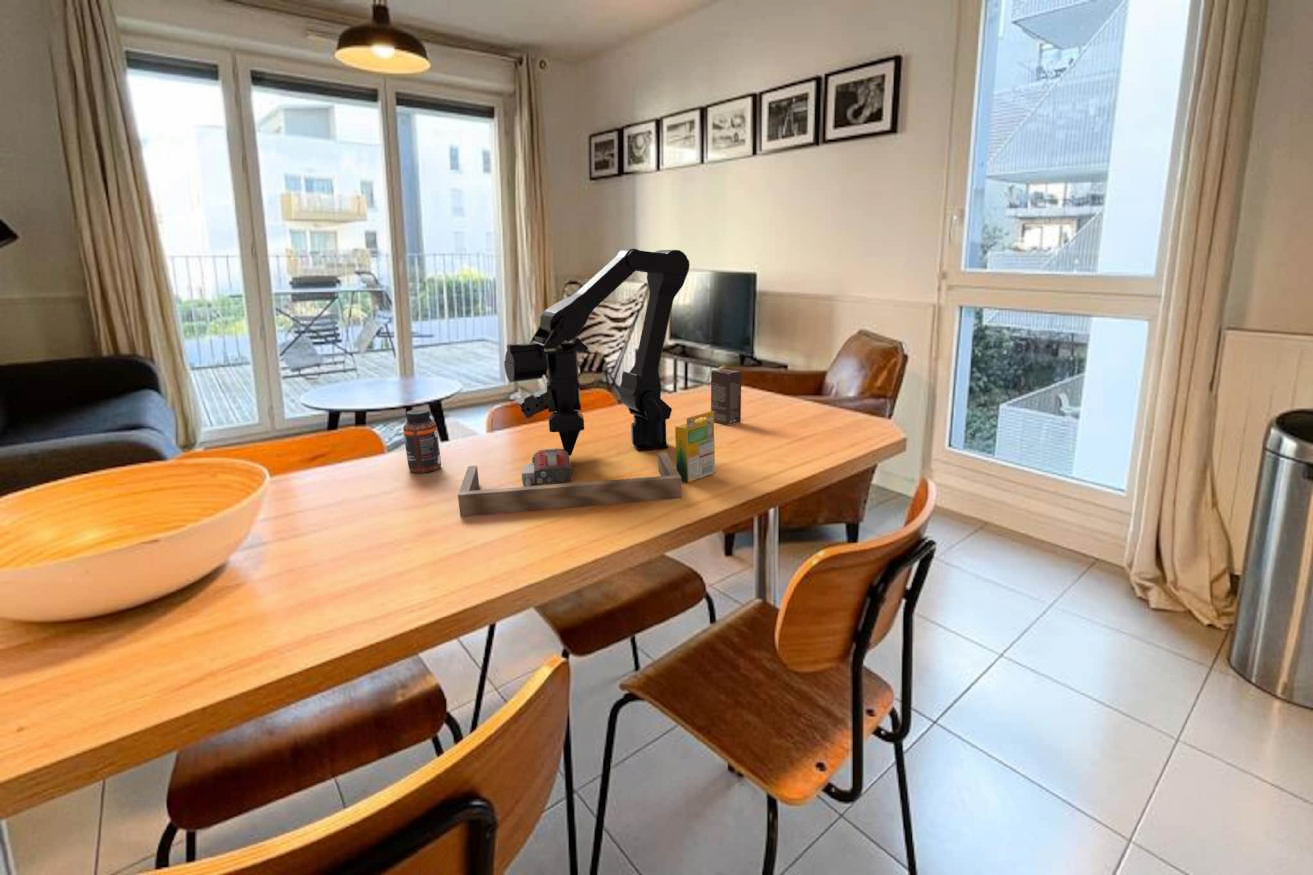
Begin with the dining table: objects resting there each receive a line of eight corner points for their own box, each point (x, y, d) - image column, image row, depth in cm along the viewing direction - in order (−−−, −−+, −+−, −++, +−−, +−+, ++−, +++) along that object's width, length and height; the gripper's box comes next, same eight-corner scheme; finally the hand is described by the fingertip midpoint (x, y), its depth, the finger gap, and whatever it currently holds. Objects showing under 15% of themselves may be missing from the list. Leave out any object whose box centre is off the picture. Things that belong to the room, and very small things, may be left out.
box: (742, 422, 155) (742, 370, 151) (728, 426, 152) (728, 373, 149) (723, 417, 159) (723, 367, 156) (709, 421, 156) (709, 370, 153)
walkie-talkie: (523, 465, 129) (521, 502, 110) (521, 443, 127) (519, 476, 108) (569, 461, 130) (575, 497, 111) (568, 439, 129) (574, 472, 110)
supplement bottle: (448, 466, 128) (441, 408, 125) (426, 475, 123) (418, 416, 120) (424, 462, 131) (417, 406, 128) (401, 471, 126) (393, 413, 123)
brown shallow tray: (666, 470, 123) (666, 452, 122) (681, 498, 109) (681, 477, 108) (470, 485, 118) (468, 466, 117) (460, 516, 104) (457, 495, 103)
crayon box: (703, 469, 122) (702, 408, 119) (715, 473, 120) (715, 410, 117) (675, 479, 118) (674, 415, 114) (688, 483, 115) (687, 418, 112)
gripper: (521, 369, 133) (527, 444, 137) (516, 388, 115) (524, 474, 120) (577, 366, 135) (582, 441, 139) (581, 384, 117) (586, 469, 121)
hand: (568, 455), depth 130 cm, fingers closed
